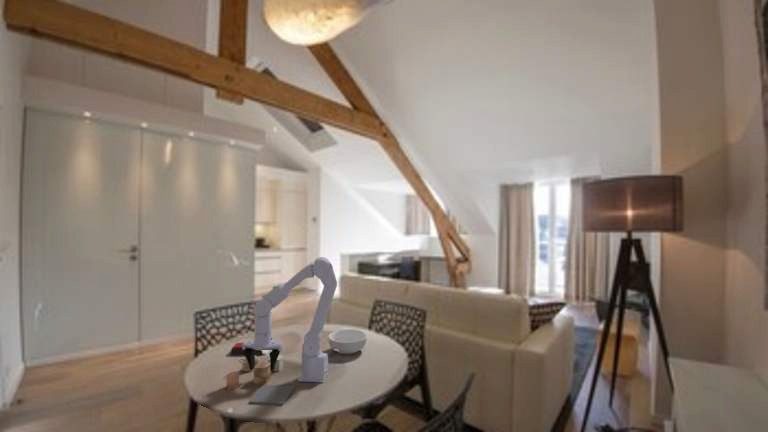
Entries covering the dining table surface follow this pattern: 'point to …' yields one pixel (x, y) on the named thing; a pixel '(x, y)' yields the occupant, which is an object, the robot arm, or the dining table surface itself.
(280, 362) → the sage block
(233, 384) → the terracotta cylinder
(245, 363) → the cream ribbed piece
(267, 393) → the slate mat
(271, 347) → the robot arm
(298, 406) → the dining table surface
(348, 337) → the cereal bowl
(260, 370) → the oak block
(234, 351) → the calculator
